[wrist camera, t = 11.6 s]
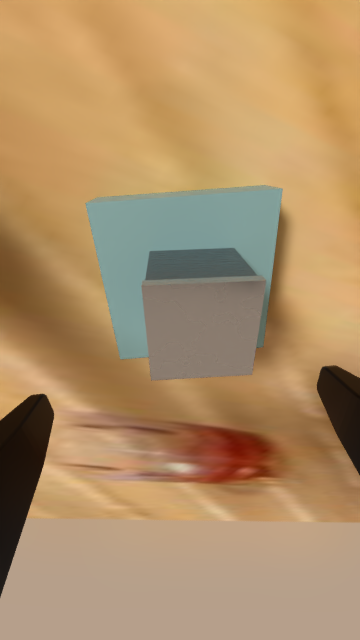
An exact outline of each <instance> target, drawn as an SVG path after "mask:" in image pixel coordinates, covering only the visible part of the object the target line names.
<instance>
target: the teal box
mask: <svg viewBox="0 0 360 640" xmlns="http://www.w3.org/2000/svg"><path fill="white" fill-rule="evenodd" d="M281 197H282V189H281V188H276V187H271V186H266V185H261V186H247V187H233V188H220V189H206V190H193V191H179V192H165V193H152V194H138V195H125V196H111V197H97V198H95V199H93V200H91V201H89V202H87V203H86V208H87V212H88V217H89V221H90V226H91V230H92V235H93V239H94V244H95V248H96V253H97V257H98V261H99V266H100V270H101V275H102V279H103V284H104V288H105V293H106V297H107V302H108V306H109V311H110V315H111V319H112V324H113V328H114V333H115V337H116V342H117V346H118V351H119V355H120V359H132V358H143V357H149V355H148V345H147V336H146V326H145V316H144V307H143V297H142V287H141V285H142V280H145V278H146V271H147V265H148V258H149V252H150V251H164V250H191V249H218V248H235V250H236V251H237V252H238V253H239V254H240V255H241V257H242V258H243V259H244V260H245V261H246V262H247V264H248V265H249V266H250V267H251V268H252V269H253V271H254V272H255V273H256V274H257V275H258V276H261V275H262V276H263V277H264V278H265V279H266V287H265V293H264V300H263V306H262V313H261V319H260V326H259V332H258V339H257V345H256V348H260V347H263V345H264V337H265V328H266V320H267V312H268V304H269V296H270V287H271V279H272V271H273V263H274V255H275V246H276V238H277V230H278V222H279V214H280V205H281Z"/></svg>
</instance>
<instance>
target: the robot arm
mask: <svg viewBox="0 0 360 640" xmlns="http://www.w3.org/2000/svg"><path fill="white" fill-rule="evenodd" d="M317 391H318V393H319V396H320V398H321V400H322V402H323V405H324V407H325V409H326V411H327V414H328V416H329V418H330V421H331V423H332V425H333V427H334V429H335V432H336V434H337V436H338V438H339V439H340V441H341V443H342V445H343V447H344V448H345V450H346V452H347V454H348V455H349V457H350V459H351V461H352V462H353V464H354V466H355V468H356V469H357V471H358V473H359V475H360V378H359V377H357V376H355V375H353V374H351V373H349V372H347V371H346V370H344V369H342V368H340V367H338V366H334V365H333V366H324V367H322V369H321V371H320V375H319V379H318V382H317ZM53 420H54V411H53V409H52V407H51V404H50V402H49V400H48V398H47V396H46V395H45V394H36V395H31V396H29V397H28V398H27V399H26V400H24V401H23V402H22V403H21V404H20V405H18V406H17V407H16V408H15V409H13V410H12V411H11V412H10V413H9V414H7V415H6V416H5V417H4V418H3V419H1V420H0V596H1V593H2V590H3V587H4V584H5V581H6V578H7V575H8V572H9V569H10V566H11V563H12V560H13V557H14V554H15V551H16V548H17V545H18V542H19V539H20V536H21V532H22V529H23V526H24V524H25V520H26V517H27V514H28V511H29V508H30V505H31V502H32V499H33V496H34V493H35V490H36V487H37V484H38V481H39V478H40V475H41V472H42V468H43V465H44V461H45V457H46V452H47V447H48V443H49V438H50V433H51V429H52V424H53Z"/></svg>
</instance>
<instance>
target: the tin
mask: <svg viewBox="0 0 360 640" xmlns="http://www.w3.org/2000/svg"><path fill="white" fill-rule="evenodd" d="M141 287H142V297H143V307H144V316H145V326H146V336H147V345H148V355H149V365H150V374H151V380H167V379H185V378H204V377H222V376H240V375H252V372H253V365H254V359H255V352H256V345H257V339H258V332H259V326H260V319H261V313H262V306H263V300H264V293H265V287H266V279H265V278H264V277H263V276H262V275H261V276H258V275H257V274H256V273H255V272H254V271H253V269H252V268H251V267H250V266H249V265H248V264H247V262H246V261H245V260H244V259H243V258H242V257H241V255H240V254H239V253H238V252H237V251H236V250H235V248H218V249H191V250H164V251H150V252H149V258H148V265H147V271H146V278H145V280H142V285H141Z"/></svg>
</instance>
